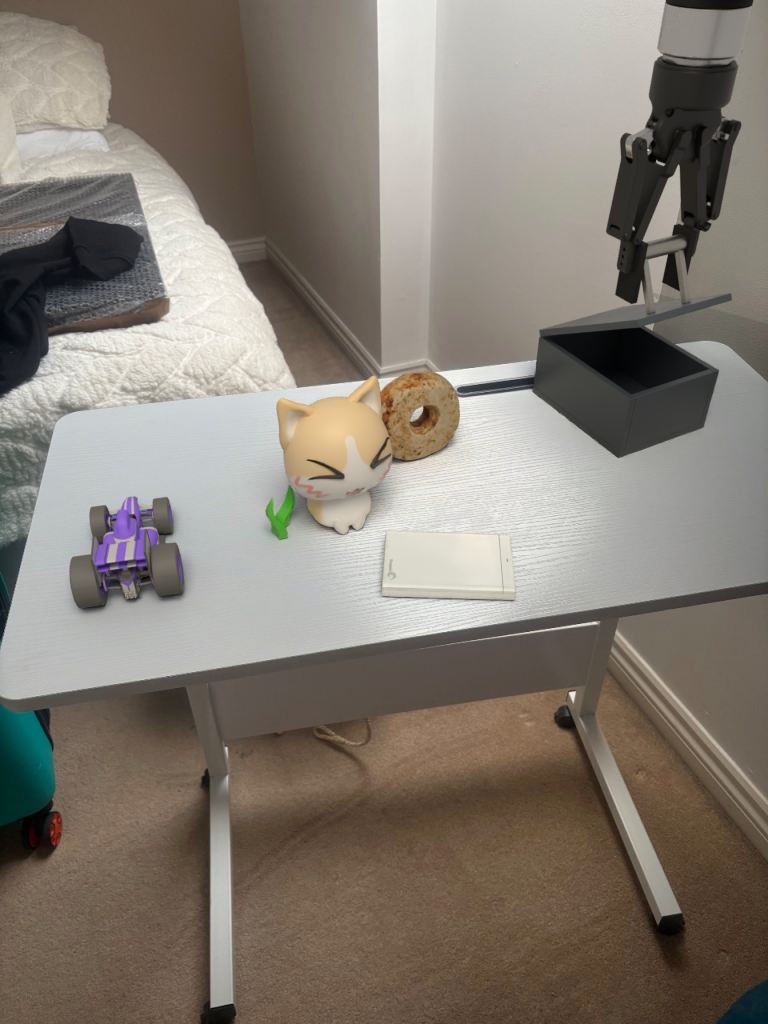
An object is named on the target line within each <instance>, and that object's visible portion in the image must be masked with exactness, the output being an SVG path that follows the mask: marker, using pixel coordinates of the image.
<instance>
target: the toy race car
mask: <svg viewBox="0 0 768 1024" xmlns="http://www.w3.org/2000/svg"><path fill="white" fill-rule="evenodd" d="M88 515H89V526H90V527H89V528H90V532H91V536H92V539H91V547H90V553H89V554H82V555H74V556H72V557H71V559H70V562H69V570H68V571H69V574H68V575H69V585H70V590H71V594H72V598H73V601H74V603H75V605H76V607H77V608H78V609H85V608H92V607H99V606H104V605H106V602H107V599H108V598H107V597H108V590H121V591H122V592H121V593H122V596H123V598H124V600H129V599H136V598H139V597H140V590H141V586H145V585H149V584H152V585H153V586H154V590H155V592H156V594H157V596H158V597H167V596H173V595H179V594H183V593H184V590H185V578H184V575H185V574H184V567H183V563H182V562H183V561H182V556H181V551H180V548H179V545H178V543H177V542H176V541H175V542H166V540H165V539H166V537H165V536H166V535H165V534H172V533H173V531H174V517H173V511H172V506H171V501H170V499H169V497H168V496H163V497H155V498H153V499H152V503H151V504H148V505H140V504H139V498H138V496H136V495H133V496H127V497H126V498H125V499H124V501H123V502H122V504H121V507H120V508H117V509H109V508H108V506H107V505H106V504H101V505H95V506H90V508H89V513H88ZM142 516H143V517H142ZM142 520H145V521H142ZM151 522H153V523H154V527H153V526H144V525H143V524H145V523H151ZM143 526H144V527H143ZM99 543H102V544H99ZM107 573H108V575H107ZM144 577H149V578H150V581H145V582H142V579H143V578H144ZM109 582H119V586H109Z"/></svg>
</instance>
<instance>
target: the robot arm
mask: <svg viewBox="0 0 768 1024" xmlns="http://www.w3.org/2000/svg"><path fill="white" fill-rule="evenodd" d="M753 5H754V0H665V2H664V6H663V13H662V17H661V23H660V29H659V30H660V31H659V34H658V41H657V47H656V49H657V51H658V52H659V54H661V55H660V56H658V57H657V58H656V59H655V61H654V62H653V66H652V72H651V73H652V74H651V79H650V84H649V91H648V99H649V101H650V104H651V113H650V115H649V117H648V119H647V121H646V123H645V127H644V128H643V129H641V130H639V131H638V132H635V133H634V134H631V133H629V132H624V133H623V134H622V135H621V137H620V139H619V149H620V161H619V162H620V163H619V167H618V172H617V176H616V180H615V186H614V191H613V195H612V200H611V205H610V209H609V213H608V218H607V223H606V228H605V232H606V234H607V235H608V236H611V237H613V238H614V239H617V240H619V242H620V243H619V249H618V256H617V262H616V268H617V270H618V276H617V281H616V287H615V293H614V296H616V297H618V298H620V299H621V300H623V301H625V302H627V303H628V304H630V305H635V304H638V300H639V294H640V290H641V286H642V274H643V269H644V264H645V259H646V254H647V249H648V243H646V242H647V241H644V239H645V236H646V233H647V231H648V229H649V226H650V225H651V222H652V219H653V216H654V214H655V212H656V209H657V207H658V204H659V202H660V200H661V197H662V195H663V193H664V190H665V188H666V185H667V183H668V180H669V179H670V178H672V177H673V176H674V175H675V174H676V171H677V169H678V167H679V191H680V192H679V194H680V196H679V197H680V221H681V223H682V224H681V223H677V224H674V225H673V228H672V231H671V232H672V233H671V236H673V235H677V234H684V235H685V236H686V238H687V241H688V244H687V247H686V249H685V250H684V255H685V263H686V270H687V276H688V275H689V270H690V267H691V261H692V258H693V257H694V255H695V254H696V252H697V246H698V242H699V238H700V233H701V232H703V233H706V232H708V231H710V229H711V227H712V222H709V221H717V220H718V218H719V217H720V215H721V211H722V204H723V200H724V195H725V191H726V185H727V179H728V175H729V170H730V164H731V159H732V155H733V149H734V148H733V147H734V145H735V142H736V140H737V138H738V135H739V133H740V131H741V128H742V122H741V121H740V120H738V119H734V118H730V117H727V116H724V115H723V114H722V108H723V109H724V108H725V107H727V105H729V104H730V102H731V100H732V96H733V91H734V87H735V84H736V78H737V74H738V71H739V64H738V62H737V61H736V59H735V58H737V57H739V56H740V55H741V54H743V50H744V46H745V41H746V37H747V33H748V28H749V23H750V19H751V14H752V10H753ZM658 162H659V163H658ZM660 163H661V164H660ZM663 164H664V165H663ZM708 203H709V204H708ZM661 282H662V283H663V284H664V285H666V286H668V287H670V288H672V289H674V290H676V291H677V292H680V288H679V280H678V273H677V265H676V258H675V253H672V254H668V255H666V261H665V266H664V270H663V275H662V279H661Z"/></svg>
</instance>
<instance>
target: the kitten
mask: <svg viewBox="0 0 768 1024" xmlns="http://www.w3.org/2000/svg"><path fill="white" fill-rule="evenodd" d="M379 381H380V380H379V378H378V377H377V375H371V376H370V377H369V378H367V379H366V380H365V381H364V382H363V383H362V384H361V385H359V386H358V387H357V388H356V389H354V390H353V391H351V393H350V394H349V396H330V397H323V398H321V399H318V400H316V401H314V402H311V403H310V404H305V403H301V402H297V401H293V400H290V399H287V398H285V397H281V398H279V399H278V400H277V401H276V406H275V407H276V408H275V409H276V416H277V423H278V440H279V441H278V442H279V444H280V447H281V449H282V451H283V454H282V455H283V466H284V471H285V475H286V478H287V481H288V483H289V485H288V486H287V491H286V493H285V497H284V500H283V503H282V505H281V506H280V508H279V509H278V511H277V512H276V514H275V511H274V496H272V497H271V499H270V500H269V501H268V504H267V505H266V508H265V510H264V511H265V516H266V518H268V520H269V522H270V526H271V532H272V533H273V534H274V535H275V536H276V537H277V538H278V540H283V539H288V537H289V536H288V530H287V527H288V526H289V525H291V521H290V517H291V516H292V513H293V511H294V510H295V504H296V497H295V493H297V494H298V495H300V496H301V497H303V498H305V499H306V506H307V510H308V511H309V513H310V514H311V516H312V517H313V518H314V520H315V521H316V522H317V523H319V524H321V525H322V526H325V527H329V528H334V530H335V531H336V532H337V533H339V534H341V535H346V534H347V533H348V532H349V529H350V526H351V527H352V528H353V529H354V530H356V531H358V530H359V531H360V530H361V529H362V528H363V527H364V524H365V522H366V518H367V516H368V514H369V513H370V512H371V509H372V497H371V494H370V492H369V490H371V489H372V488H374V487H376V486H377V485H378V484H380V483H381V482H383V480H384V479H385V478H386V477H387V475H388V474H389V473H390V470H391V467H392V463H393V456H392V448H391V443H390V437H389V435H388V432H387V429H386V427H385V425H384V423H383V421H382V406H381V395H380V392H381V387H380V382H379ZM294 491H295V492H294Z"/></svg>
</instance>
